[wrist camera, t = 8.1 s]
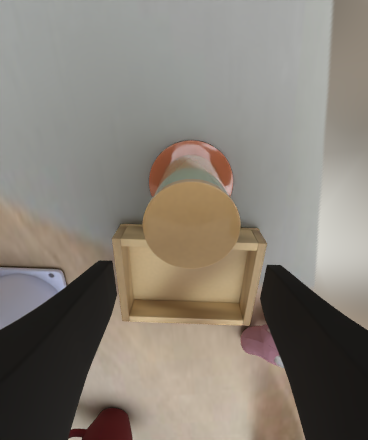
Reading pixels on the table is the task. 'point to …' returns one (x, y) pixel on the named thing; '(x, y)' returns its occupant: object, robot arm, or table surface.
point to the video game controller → (260, 344)
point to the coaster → (191, 149)
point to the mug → (106, 427)
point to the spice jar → (191, 215)
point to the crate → (187, 282)
